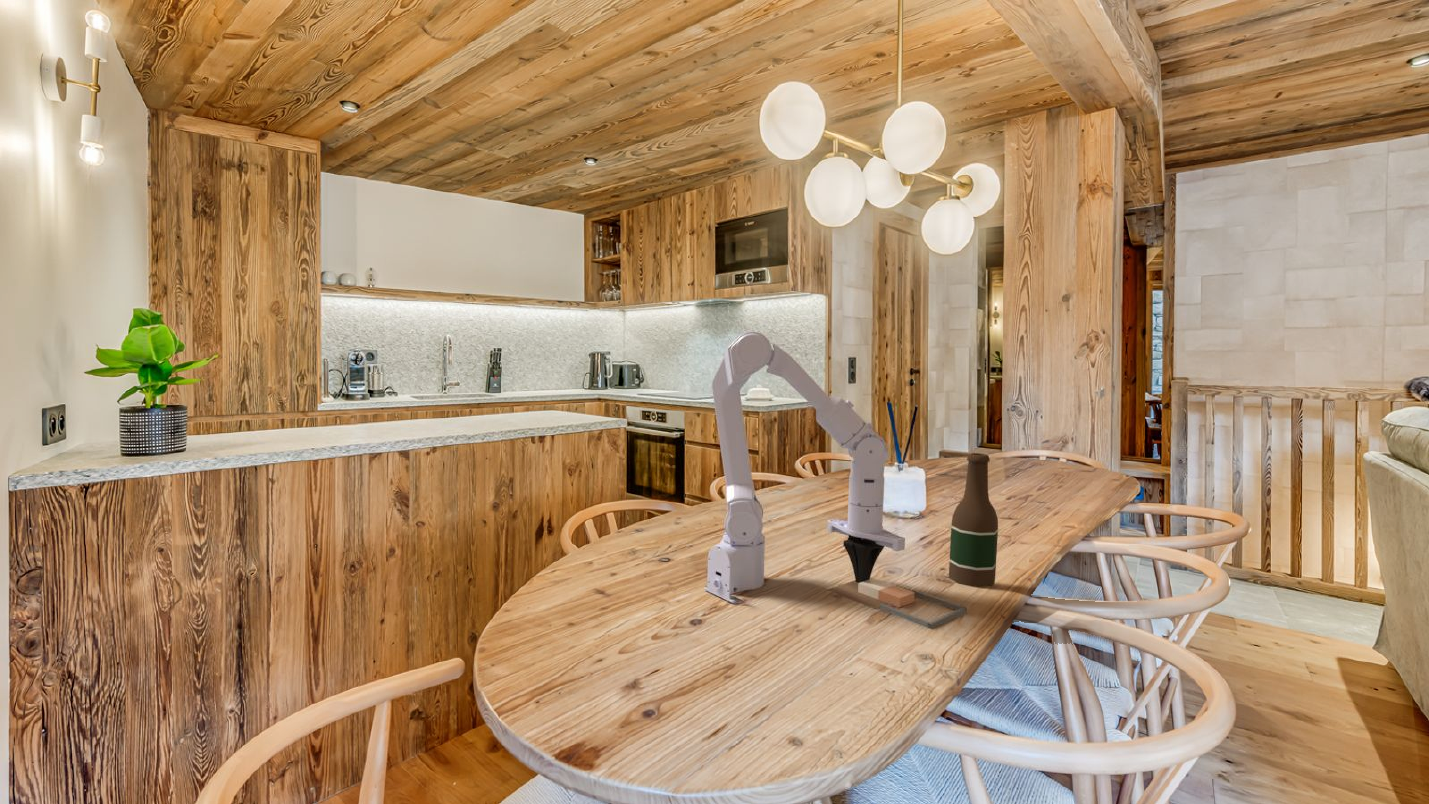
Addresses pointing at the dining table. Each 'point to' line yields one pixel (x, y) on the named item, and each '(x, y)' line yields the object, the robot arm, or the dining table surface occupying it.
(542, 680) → the dining table surface
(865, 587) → the offwhite tile
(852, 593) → the walnut board
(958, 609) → the tray
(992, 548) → the beer bottle
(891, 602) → the terracotta tile
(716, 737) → the dining table surface
